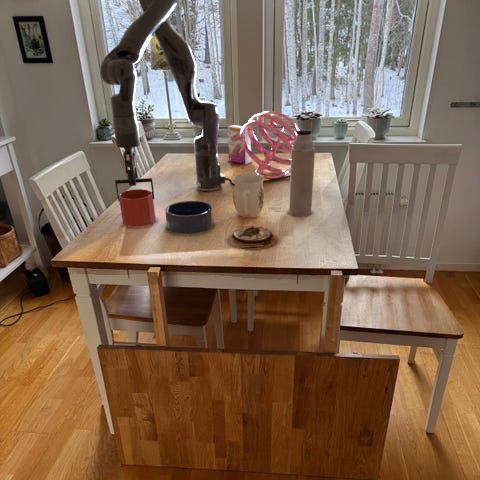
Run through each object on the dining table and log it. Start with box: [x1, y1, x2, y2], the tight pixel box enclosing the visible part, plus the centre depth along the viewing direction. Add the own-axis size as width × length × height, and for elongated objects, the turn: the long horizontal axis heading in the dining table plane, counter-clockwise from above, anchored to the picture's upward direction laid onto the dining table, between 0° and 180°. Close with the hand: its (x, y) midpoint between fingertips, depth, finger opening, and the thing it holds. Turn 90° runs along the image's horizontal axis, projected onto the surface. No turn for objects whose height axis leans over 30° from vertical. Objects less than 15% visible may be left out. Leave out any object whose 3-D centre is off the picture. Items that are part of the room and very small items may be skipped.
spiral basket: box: [240, 110, 300, 180], centre depth 204 cm, size 28×28×27 cm
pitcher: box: [232, 170, 265, 219], centre depth 165 cm, size 11×18×14 cm, turn 170°
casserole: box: [164, 200, 214, 235], centre depth 159 cm, size 16×16×6 cm
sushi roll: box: [231, 225, 277, 251], centre depth 149 cm, size 15×15×4 cm
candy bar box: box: [227, 124, 252, 165], centre depth 229 cm, size 11×5×16 cm, turn 49°
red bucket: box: [114, 177, 157, 228], centre depth 162 cm, size 11×12×15 cm
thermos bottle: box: [288, 129, 316, 217], centre depth 163 cm, size 8×8×28 cm
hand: (133, 181), depth 158 cm, fingers open, 8 cm apart
